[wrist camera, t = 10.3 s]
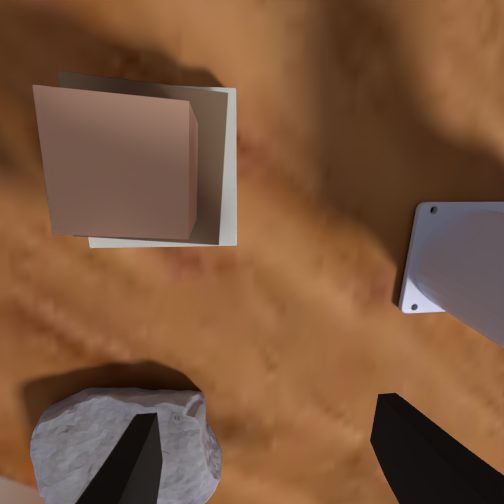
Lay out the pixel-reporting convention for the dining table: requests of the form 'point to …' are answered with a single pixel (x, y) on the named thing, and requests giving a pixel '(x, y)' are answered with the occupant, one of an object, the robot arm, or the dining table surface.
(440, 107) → the dining table surface
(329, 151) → the dining table surface
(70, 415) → the stone block
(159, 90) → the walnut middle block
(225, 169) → the grey base block
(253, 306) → the dining table surface
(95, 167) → the terracotta cube
